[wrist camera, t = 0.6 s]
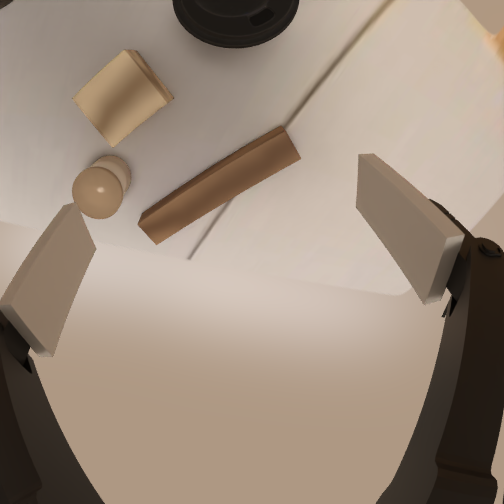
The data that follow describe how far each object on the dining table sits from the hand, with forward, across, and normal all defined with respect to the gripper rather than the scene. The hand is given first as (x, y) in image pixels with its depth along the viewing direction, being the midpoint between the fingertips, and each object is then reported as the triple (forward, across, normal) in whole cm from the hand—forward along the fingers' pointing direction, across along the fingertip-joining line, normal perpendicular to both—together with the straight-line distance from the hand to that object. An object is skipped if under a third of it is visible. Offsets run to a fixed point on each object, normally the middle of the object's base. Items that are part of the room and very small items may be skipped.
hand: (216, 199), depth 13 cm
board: (+25, -2, -10) cm, 27 cm away
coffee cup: (+25, +3, +11) cm, 28 cm away
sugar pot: (+25, -16, -6) cm, 30 cm away
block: (+25, -10, +4) cm, 28 cm away
